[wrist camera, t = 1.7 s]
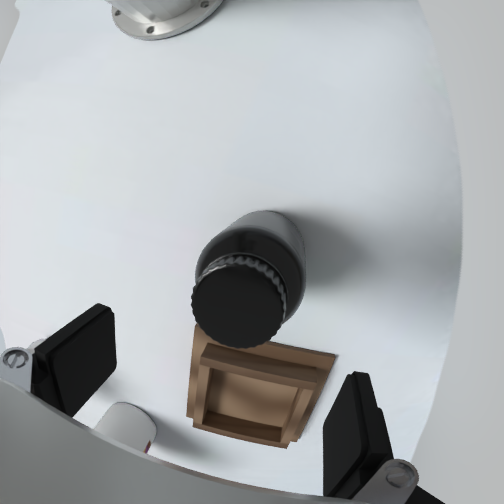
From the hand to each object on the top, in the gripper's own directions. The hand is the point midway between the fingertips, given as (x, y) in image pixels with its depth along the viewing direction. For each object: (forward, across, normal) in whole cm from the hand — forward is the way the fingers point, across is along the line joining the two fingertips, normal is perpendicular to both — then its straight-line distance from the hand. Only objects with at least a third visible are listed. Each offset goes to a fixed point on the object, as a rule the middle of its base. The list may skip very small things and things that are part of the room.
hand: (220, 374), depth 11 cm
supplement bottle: (+16, 0, -1) cm, 17 cm away
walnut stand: (+17, -2, +15) cm, 23 cm away
